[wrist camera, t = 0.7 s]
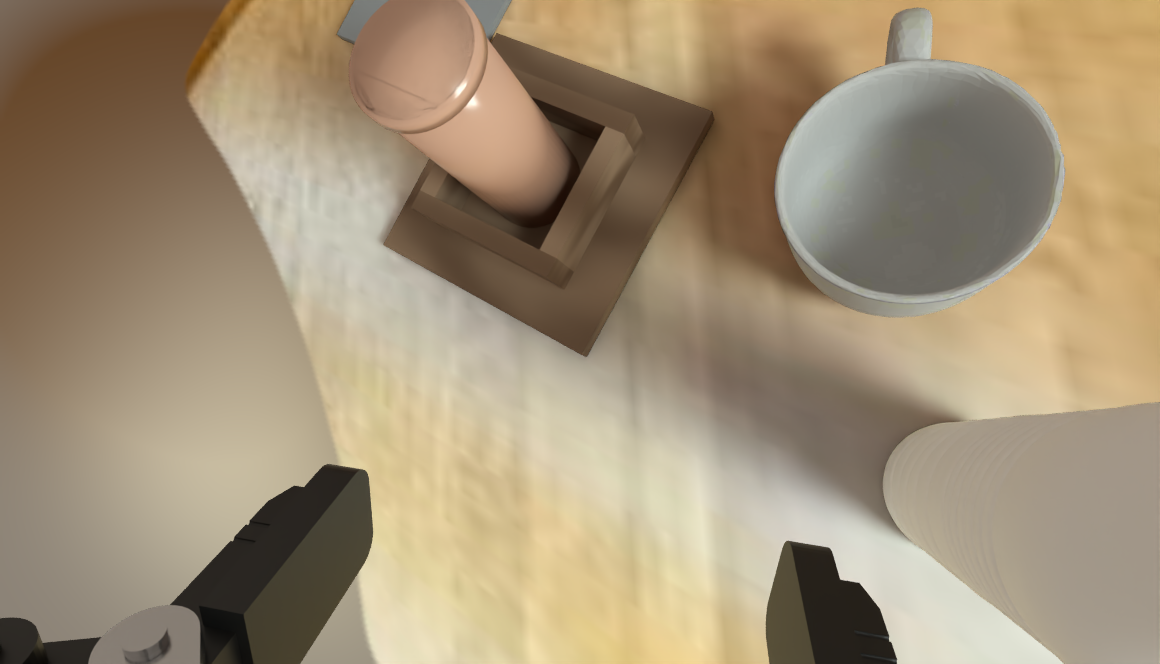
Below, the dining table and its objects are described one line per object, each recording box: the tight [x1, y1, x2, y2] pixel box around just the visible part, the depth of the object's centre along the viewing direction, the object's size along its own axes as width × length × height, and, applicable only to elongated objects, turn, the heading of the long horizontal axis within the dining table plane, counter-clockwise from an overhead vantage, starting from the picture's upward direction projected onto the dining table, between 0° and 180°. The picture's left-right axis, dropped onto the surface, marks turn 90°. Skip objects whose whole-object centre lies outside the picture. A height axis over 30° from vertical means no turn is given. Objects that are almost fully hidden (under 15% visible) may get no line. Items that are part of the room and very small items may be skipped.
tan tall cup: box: [349, 0, 580, 228], centre depth 33 cm, size 8×6×14 cm
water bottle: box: [883, 402, 1160, 664], centre depth 19 cm, size 9×6×25 cm
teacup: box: [774, 8, 1065, 317], centre depth 30 cm, size 14×11×8 cm
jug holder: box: [383, 33, 714, 357], centre depth 39 cm, size 16×16×4 cm
